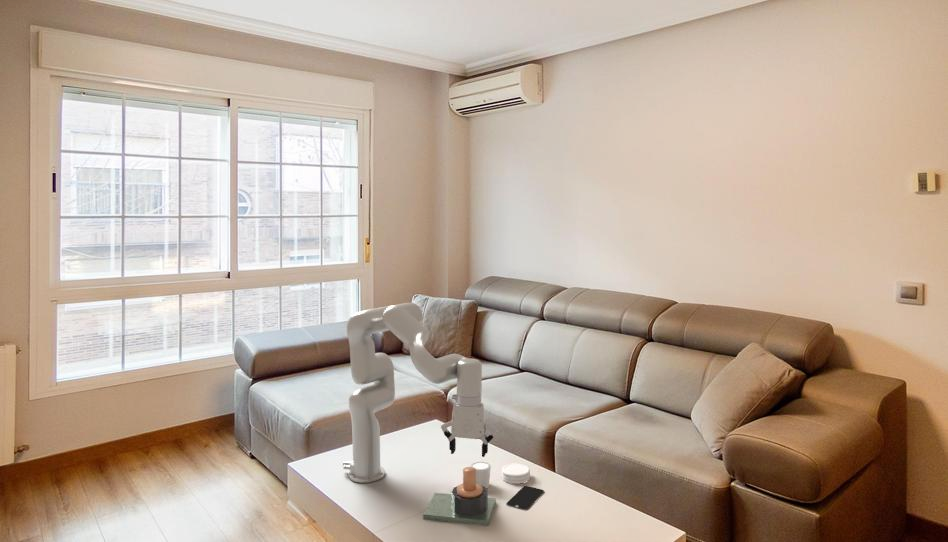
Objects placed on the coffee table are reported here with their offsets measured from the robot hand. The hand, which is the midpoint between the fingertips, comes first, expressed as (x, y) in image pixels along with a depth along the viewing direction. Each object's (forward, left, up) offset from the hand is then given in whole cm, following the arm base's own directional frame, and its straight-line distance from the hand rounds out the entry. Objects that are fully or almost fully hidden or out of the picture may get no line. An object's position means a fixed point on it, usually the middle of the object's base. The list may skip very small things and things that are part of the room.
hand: (468, 453), depth 178 cm
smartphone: (+16, +12, -19) cm, 28 cm away
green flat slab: (-3, 0, -19) cm, 19 cm away
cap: (0, 0, -15) cm, 15 cm away
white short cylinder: (+11, +26, -19) cm, 34 cm away
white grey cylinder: (0, +18, -19) cm, 26 cm away
